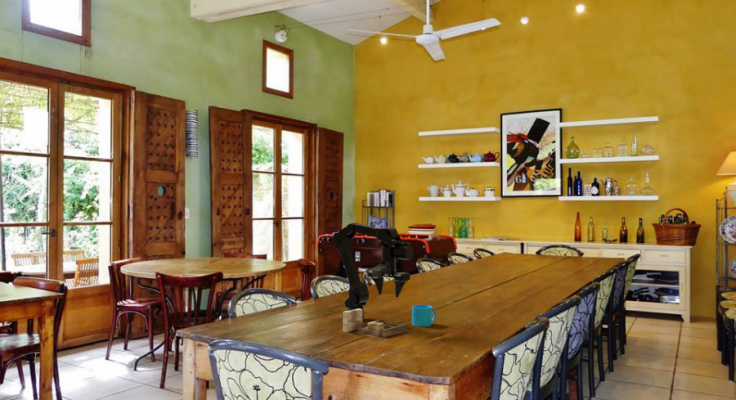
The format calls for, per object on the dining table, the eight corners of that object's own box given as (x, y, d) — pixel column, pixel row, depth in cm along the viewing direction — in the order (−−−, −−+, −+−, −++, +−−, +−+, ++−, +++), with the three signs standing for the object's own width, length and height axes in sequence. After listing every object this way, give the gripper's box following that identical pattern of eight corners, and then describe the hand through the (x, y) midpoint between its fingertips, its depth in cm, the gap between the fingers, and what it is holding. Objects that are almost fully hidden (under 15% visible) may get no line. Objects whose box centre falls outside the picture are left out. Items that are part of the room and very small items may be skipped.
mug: (421, 329, 217) (421, 309, 217) (408, 325, 223) (408, 305, 223) (442, 325, 224) (442, 305, 224) (429, 321, 231) (429, 302, 231)
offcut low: (364, 332, 207) (364, 327, 207) (371, 331, 210) (371, 325, 210) (378, 335, 202) (378, 330, 202) (385, 334, 205) (385, 328, 205)
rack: (353, 334, 207) (353, 325, 207) (384, 326, 220) (384, 318, 221) (380, 340, 198) (380, 331, 198) (410, 332, 211) (410, 323, 211)
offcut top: (367, 328, 206) (367, 323, 206) (373, 326, 209) (373, 321, 209) (378, 330, 203) (378, 324, 203) (383, 328, 206) (383, 323, 206)
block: (358, 328, 216) (358, 308, 216) (362, 329, 215) (362, 309, 215) (342, 332, 210) (342, 311, 210) (346, 333, 208) (346, 312, 208)
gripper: (358, 257, 222) (358, 295, 222) (393, 261, 210) (393, 301, 210) (376, 255, 231) (376, 292, 230) (411, 259, 218) (410, 297, 218)
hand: (388, 295), depth 222 cm, fingers open, 9 cm apart
